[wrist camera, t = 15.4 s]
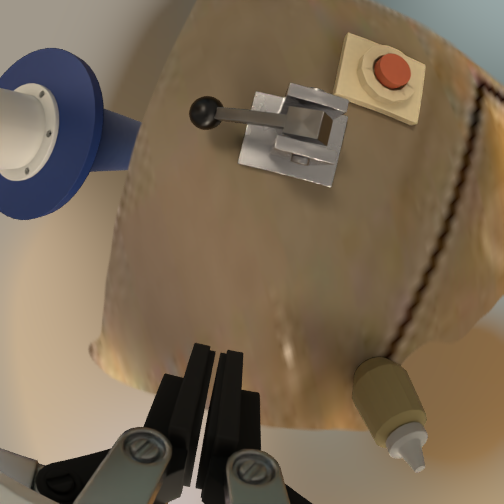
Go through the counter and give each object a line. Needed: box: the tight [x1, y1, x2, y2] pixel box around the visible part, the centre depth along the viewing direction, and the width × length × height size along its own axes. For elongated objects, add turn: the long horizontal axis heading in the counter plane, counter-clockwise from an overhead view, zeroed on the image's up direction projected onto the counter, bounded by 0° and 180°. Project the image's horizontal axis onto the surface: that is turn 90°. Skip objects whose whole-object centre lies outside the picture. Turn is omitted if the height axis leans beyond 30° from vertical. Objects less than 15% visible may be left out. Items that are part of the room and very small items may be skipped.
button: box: [374, 54, 411, 89], centre depth 25 cm, size 4×4×2 cm
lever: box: [189, 96, 333, 146], centre depth 24 cm, size 13×3×3 cm
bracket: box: [238, 83, 349, 187], centre depth 26 cm, size 10×8×12 cm
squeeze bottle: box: [352, 357, 428, 473], centre depth 30 cm, size 8×8×18 cm
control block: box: [332, 33, 426, 125], centre depth 28 cm, size 10×8×4 cm
